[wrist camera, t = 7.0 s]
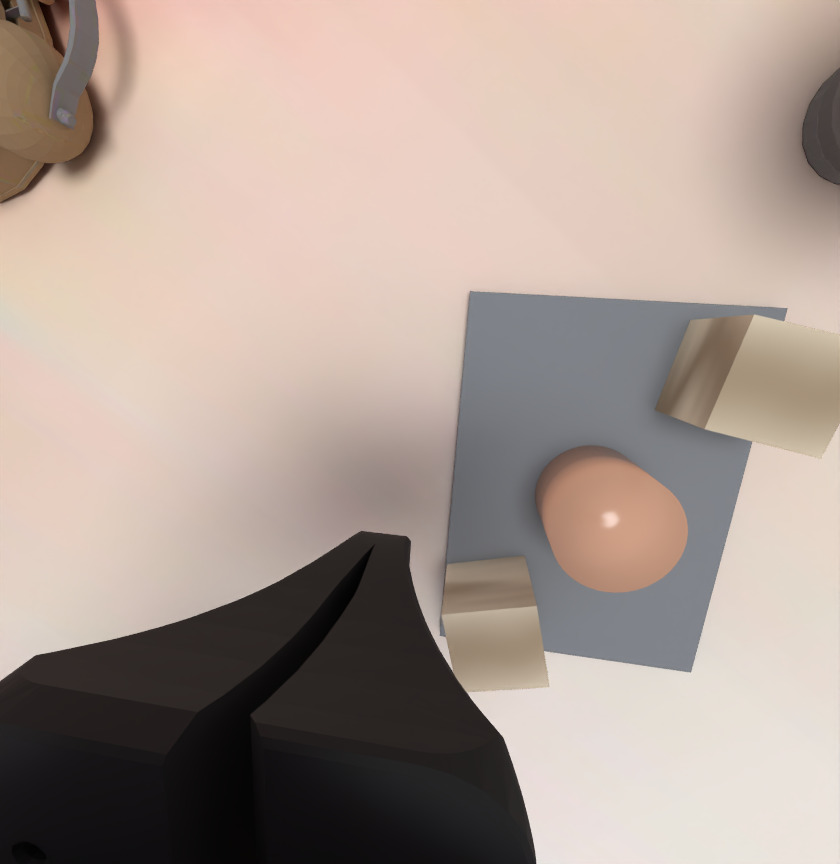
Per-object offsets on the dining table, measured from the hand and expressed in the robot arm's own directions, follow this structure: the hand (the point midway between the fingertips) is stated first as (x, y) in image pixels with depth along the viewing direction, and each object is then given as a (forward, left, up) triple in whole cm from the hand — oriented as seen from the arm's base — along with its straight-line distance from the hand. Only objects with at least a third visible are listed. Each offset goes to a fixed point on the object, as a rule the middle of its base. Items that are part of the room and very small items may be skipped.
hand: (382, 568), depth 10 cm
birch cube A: (-7, -4, -10) cm, 13 cm away
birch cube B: (+5, -13, -10) cm, 17 cm away
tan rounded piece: (-1, -8, -10) cm, 13 cm away
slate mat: (-1, -8, -10) cm, 13 cm away
